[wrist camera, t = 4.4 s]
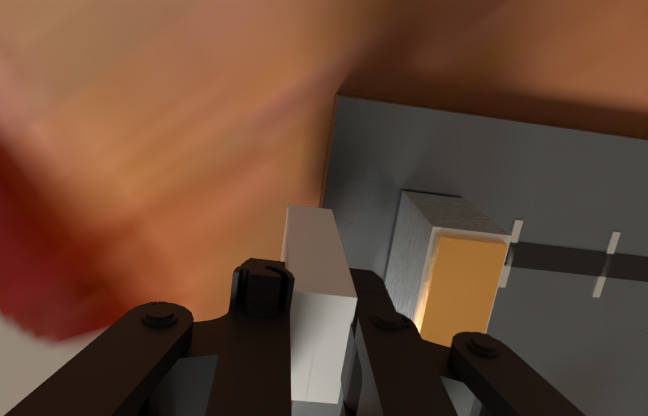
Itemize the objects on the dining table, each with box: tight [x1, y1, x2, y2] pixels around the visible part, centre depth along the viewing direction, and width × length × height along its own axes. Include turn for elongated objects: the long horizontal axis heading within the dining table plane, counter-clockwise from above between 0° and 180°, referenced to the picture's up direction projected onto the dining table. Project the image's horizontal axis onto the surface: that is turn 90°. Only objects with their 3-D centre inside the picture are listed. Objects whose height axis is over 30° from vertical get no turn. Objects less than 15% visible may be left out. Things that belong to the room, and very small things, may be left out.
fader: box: [385, 191, 512, 347], centre depth 17 cm, size 4×2×4 cm, turn 172°
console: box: [291, 94, 648, 416], centre depth 21 cm, size 20×22×3 cm
